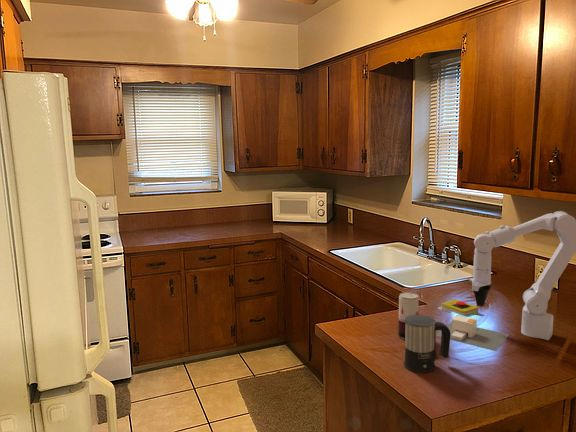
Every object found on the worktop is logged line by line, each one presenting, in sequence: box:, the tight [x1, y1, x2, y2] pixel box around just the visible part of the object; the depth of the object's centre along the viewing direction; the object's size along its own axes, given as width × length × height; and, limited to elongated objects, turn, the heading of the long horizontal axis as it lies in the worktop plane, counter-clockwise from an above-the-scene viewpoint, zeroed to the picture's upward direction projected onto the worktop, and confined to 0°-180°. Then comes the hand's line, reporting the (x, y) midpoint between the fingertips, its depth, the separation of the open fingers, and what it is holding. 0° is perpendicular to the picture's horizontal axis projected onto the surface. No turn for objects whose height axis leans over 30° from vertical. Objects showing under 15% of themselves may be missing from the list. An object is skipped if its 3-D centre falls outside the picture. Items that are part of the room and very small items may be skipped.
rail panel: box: [436, 321, 510, 352], centre depth 161 cm, size 20×16×2 cm
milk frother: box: [403, 314, 451, 374], centre depth 145 cm, size 14×16×15 cm
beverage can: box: [397, 291, 420, 340], centre depth 163 cm, size 6×7×15 cm
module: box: [451, 315, 478, 338], centre depth 163 cm, size 7×4×5 cm, turn 51°
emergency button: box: [437, 299, 482, 317], centre depth 186 cm, size 9×4×15 cm
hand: (480, 305), depth 166 cm, fingers closed
